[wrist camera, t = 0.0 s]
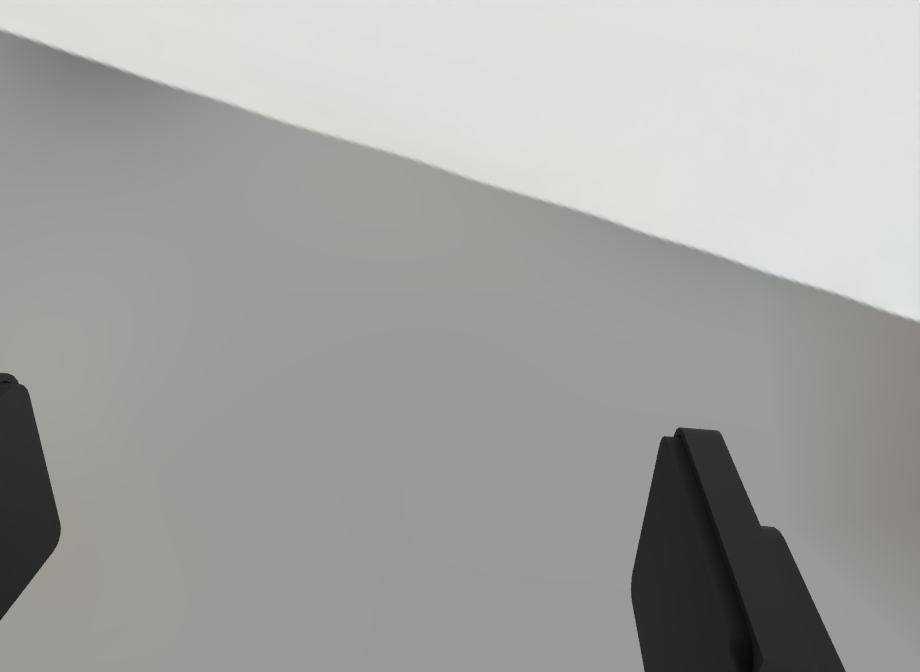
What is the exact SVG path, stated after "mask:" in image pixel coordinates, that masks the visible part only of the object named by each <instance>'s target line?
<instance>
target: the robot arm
mask: <svg viewBox="0 0 920 672" xmlns="http://www.w3.org/2000/svg"><path fill="white" fill-rule="evenodd" d="M60 531H61V526H60V521H59V517H58V512H57V508H56V504H55V500H54V496H53V492H52V487H51V483H50V479H49V475H48V471H47V467H46V462H45V459H44V454H43V450H42V446H41V442H40V438H39V434H38V429H37V425H36V421H35V417H34V413H33V408H32V404H31V400H30V396H29V393H28V390H27V389H26V388H25V386H23V385H21V384H19V383H18V381H17V380H16V378H15V377H14V376H13V375H10V374H8V373H0V620H1V619H2V618H3V616H4V615H5V614H6V612H7V611H8V610H9V608H10V607H11V605H12V604H13V603H14V602H15V601H16V599H17V598H18V597H19V595H20V594H21V593H22V591H23V590H24V589H25V588H26V586H27V585H28V584H29V582H30V581H31V580H32V578H33V577H34V576H35V574H36V573H37V572H38V571H39V569H40V568H41V567H42V565H43V564H44V563H45V562H46V560H47V559H48V558H49V556H50V555H51V554H52V552H53V551H54V549H55V548H56V546H57V544H58V541H59V537H60ZM631 597H632V604H633V609H634V615H635V620H636V626H637V631H638V637H639V642H640V648H641V653H642V659H643V664H644V670H645V672H845V669H844V667H843V665H842V663H841V661H840V659H839V656H838V654H837V652H836V650H835V648H834V645H833V643H832V641H831V639H830V637H829V635H828V632H827V631H826V628H825V626H824V624H823V622H822V619H821V617H820V615H819V613H818V611H817V609H816V606H815V604H814V602H813V600H812V598H811V595H810V593H809V591H808V589H807V587H806V585H805V582H804V580H803V578H802V576H801V574H800V572H799V570H798V567H797V565H796V563H795V561H794V559H793V556H792V554H791V552H790V550H789V548H788V546H787V543H786V541H785V539H784V537H783V536H782V534H781V533H780V532H779V530H777V529H776V528H774V527H767V526H761V525H760V523H759V521H758V519H757V516H756V514H755V512H754V509H753V507H752V505H751V502H750V500H749V498H748V495H747V493H746V491H745V488H744V486H743V484H742V481H741V479H740V477H739V475H738V472H737V470H736V467H735V465H734V463H733V460H732V458H731V456H730V454H729V451H728V449H727V446H726V444H725V442H724V440H723V437H722V435H721V433H720V432H719V431H717V430H704V429H692V428H678V429H677V430H676V432H675V434H674V437H666V436H664V437H663V438H662V440H661V442H660V446H659V450H658V455H657V460H656V465H655V469H654V474H653V479H652V483H651V488H650V493H649V498H648V503H647V507H646V512H645V516H644V521H643V526H642V530H641V536H640V540H639V545H638V549H637V554H636V559H635V564H634V568H633V574H632V582H631Z"/></svg>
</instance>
